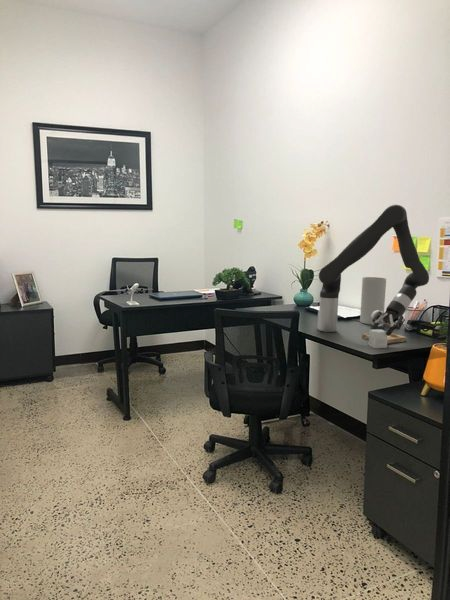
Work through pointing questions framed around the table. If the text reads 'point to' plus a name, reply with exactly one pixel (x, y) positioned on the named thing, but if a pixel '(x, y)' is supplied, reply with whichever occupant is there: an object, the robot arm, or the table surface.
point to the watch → (373, 317)
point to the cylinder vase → (372, 297)
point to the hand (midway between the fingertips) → (379, 332)
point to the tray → (389, 338)
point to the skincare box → (378, 338)
